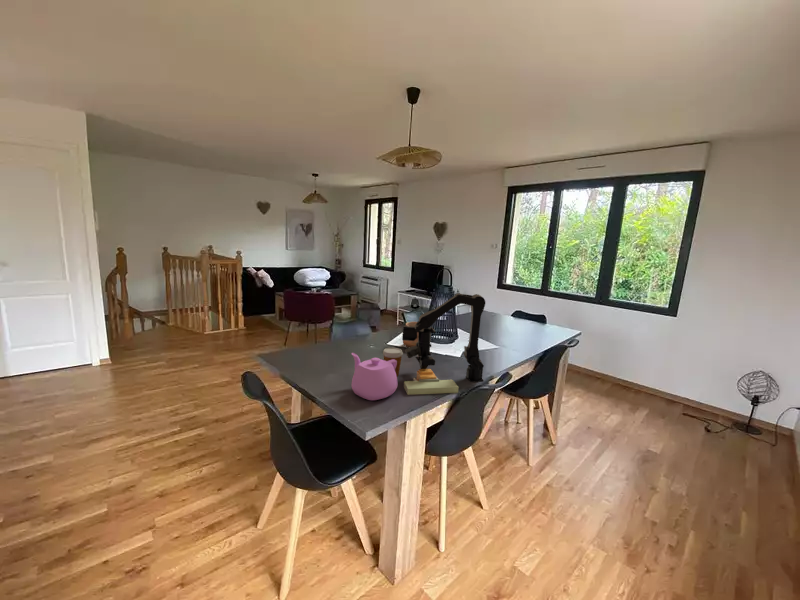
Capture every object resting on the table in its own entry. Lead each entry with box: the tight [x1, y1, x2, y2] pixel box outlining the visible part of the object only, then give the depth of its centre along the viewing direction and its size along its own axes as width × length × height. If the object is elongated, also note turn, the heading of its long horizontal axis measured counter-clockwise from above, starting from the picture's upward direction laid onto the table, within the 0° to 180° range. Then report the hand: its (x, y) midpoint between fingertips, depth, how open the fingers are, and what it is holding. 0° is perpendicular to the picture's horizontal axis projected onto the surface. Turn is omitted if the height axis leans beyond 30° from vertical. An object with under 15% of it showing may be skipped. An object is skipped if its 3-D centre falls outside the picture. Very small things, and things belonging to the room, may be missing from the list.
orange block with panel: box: [416, 368, 437, 381], centre depth 162 cm, size 7×8×5 cm
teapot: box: [351, 352, 398, 401], centre depth 151 cm, size 23×21×15 cm
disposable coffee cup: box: [382, 347, 404, 377], centre depth 169 cm, size 10×10×12 cm
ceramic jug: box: [402, 321, 419, 348], centre depth 213 cm, size 18×14×14 cm
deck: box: [403, 376, 460, 396], centre depth 157 cm, size 22×14×3 cm, turn 100°
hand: (422, 373), depth 169 cm, fingers closed
